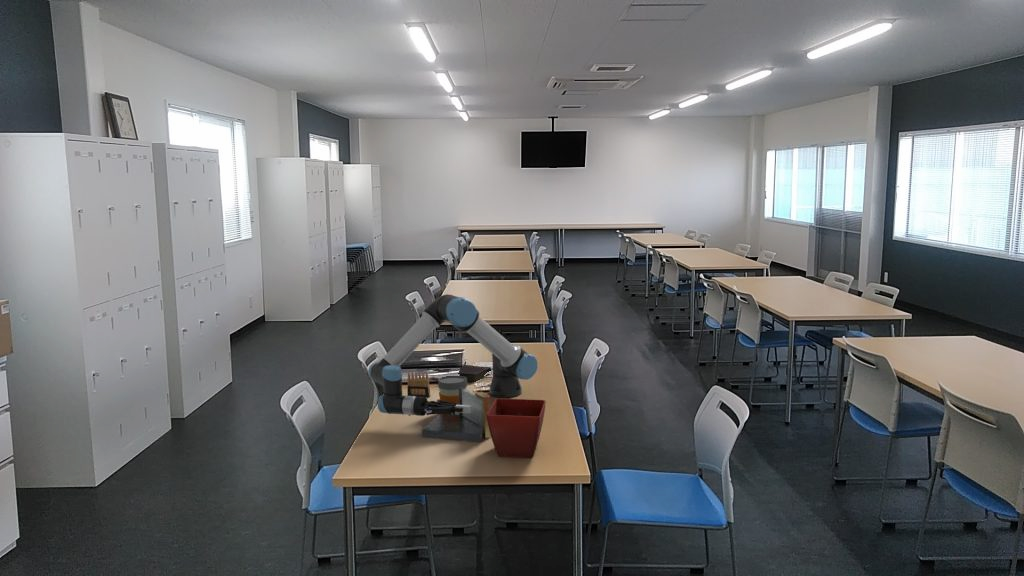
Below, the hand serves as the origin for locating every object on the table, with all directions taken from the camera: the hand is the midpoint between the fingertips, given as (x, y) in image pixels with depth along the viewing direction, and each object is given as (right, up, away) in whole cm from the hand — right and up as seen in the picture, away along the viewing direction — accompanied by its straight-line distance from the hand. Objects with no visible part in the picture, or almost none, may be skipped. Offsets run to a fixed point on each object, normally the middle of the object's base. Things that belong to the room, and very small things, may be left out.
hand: (471, 409), depth 272 cm
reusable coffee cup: (-9, -6, +27) cm, 29 cm away
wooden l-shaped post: (+5, -10, -1) cm, 11 cm away
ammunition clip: (-28, -3, +52) cm, 59 cm away
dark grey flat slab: (-5, -9, +5) cm, 12 cm away
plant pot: (+18, -12, -18) cm, 28 cm away
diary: (-10, +1, +84) cm, 85 cm away
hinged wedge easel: (0, -5, +7) cm, 9 cm away
